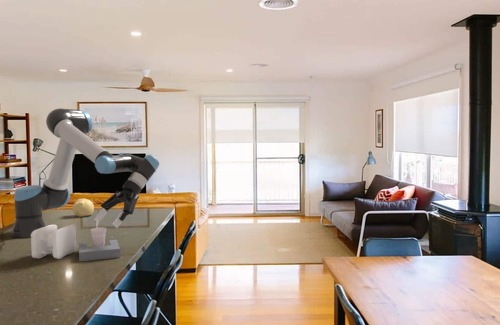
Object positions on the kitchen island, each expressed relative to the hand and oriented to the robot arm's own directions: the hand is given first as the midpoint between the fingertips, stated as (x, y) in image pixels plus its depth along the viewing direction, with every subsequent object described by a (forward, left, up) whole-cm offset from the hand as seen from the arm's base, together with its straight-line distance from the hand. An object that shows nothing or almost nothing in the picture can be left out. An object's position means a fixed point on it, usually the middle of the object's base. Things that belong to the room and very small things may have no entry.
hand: (104, 224), depth 174 cm
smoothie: (+1, -3, -11) cm, 12 cm away
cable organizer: (0, -19, -12) cm, 22 cm away
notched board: (+4, -3, -11) cm, 12 cm away
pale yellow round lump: (-88, -8, -11) cm, 89 cm away
